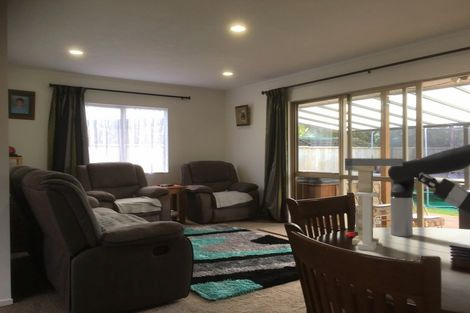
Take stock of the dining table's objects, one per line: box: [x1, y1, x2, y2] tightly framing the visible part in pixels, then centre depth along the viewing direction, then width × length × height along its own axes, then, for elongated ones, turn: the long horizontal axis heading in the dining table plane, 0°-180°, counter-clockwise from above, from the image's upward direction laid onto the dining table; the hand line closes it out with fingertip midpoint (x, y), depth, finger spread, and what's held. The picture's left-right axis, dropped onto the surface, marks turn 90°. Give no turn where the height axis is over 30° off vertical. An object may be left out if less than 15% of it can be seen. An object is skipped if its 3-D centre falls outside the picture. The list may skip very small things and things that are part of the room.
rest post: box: [354, 191, 380, 252], centre depth 144 cm, size 6×8×22 cm
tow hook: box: [344, 207, 358, 238], centre depth 168 cm, size 8×13×9 cm
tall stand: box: [351, 166, 380, 247], centre depth 152 cm, size 8×9×32 cm
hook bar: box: [344, 157, 404, 171], centre depth 151 cm, size 3×22×5 cm, turn 60°
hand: (409, 170), depth 144 cm, fingers open, 8 cm apart
